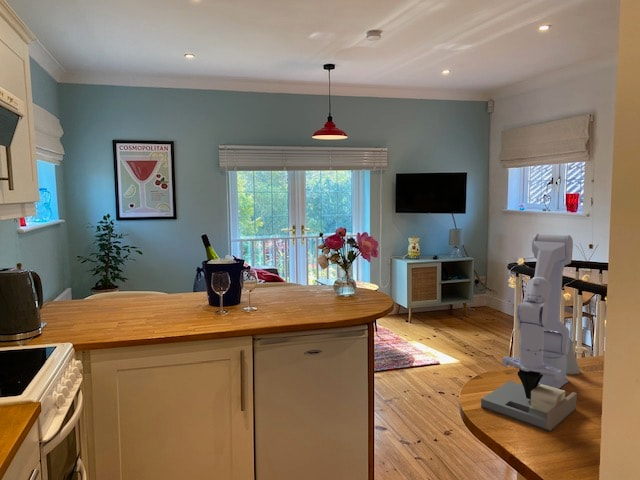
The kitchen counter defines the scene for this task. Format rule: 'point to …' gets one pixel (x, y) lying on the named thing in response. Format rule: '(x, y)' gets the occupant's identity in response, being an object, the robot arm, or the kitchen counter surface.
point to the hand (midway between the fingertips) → (530, 397)
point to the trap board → (527, 407)
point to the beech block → (546, 397)
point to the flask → (571, 361)
